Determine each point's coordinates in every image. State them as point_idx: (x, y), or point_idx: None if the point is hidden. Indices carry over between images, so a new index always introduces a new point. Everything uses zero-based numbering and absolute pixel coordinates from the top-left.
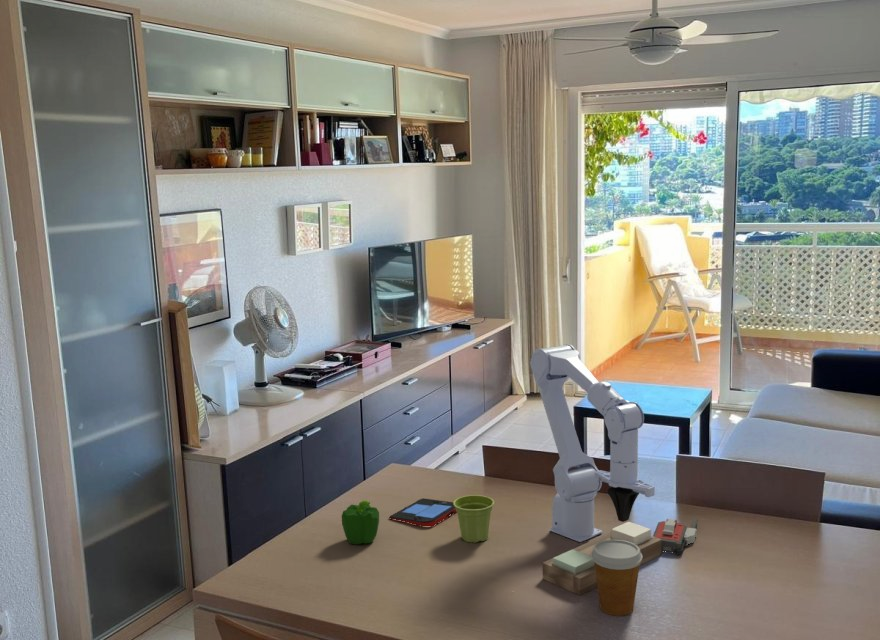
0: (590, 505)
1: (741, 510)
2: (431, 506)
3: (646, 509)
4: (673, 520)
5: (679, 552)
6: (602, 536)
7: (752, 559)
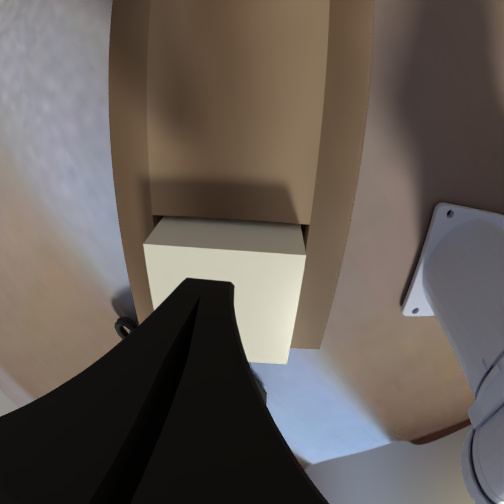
0: (479, 351)
1: None
2: None
3: (349, 436)
4: None
5: (117, 321)
6: (347, 214)
7: (50, 365)
